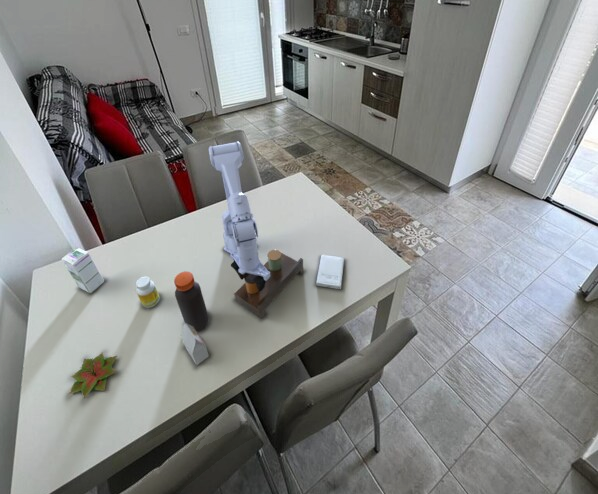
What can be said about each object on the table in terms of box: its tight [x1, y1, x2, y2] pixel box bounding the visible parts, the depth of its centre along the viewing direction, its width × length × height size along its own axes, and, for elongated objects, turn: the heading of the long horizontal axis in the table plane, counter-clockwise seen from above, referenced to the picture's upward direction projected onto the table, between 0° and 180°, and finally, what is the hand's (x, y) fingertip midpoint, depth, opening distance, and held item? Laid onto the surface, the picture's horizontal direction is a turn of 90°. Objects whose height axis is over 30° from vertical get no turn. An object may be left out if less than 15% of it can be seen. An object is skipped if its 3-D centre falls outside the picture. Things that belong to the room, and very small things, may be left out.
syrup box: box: [61, 246, 105, 294], centre depth 108 cm, size 6×6×14 cm
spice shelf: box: [233, 252, 304, 319], centre depth 109 cm, size 11×22×6 cm, turn 144°
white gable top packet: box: [180, 322, 210, 366], centre depth 90 cm, size 4×7×10 cm, turn 42°
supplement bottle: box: [135, 276, 160, 309], centre depth 104 cm, size 5×5×10 cm
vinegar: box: [173, 271, 210, 332], centre depth 94 cm, size 7×7×20 cm
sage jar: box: [267, 249, 282, 271], centre depth 111 cm, size 5×5×6 cm
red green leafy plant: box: [67, 351, 118, 400], centre depth 86 cm, size 12×12×5 cm
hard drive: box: [315, 254, 345, 290], centre depth 114 cm, size 2×8×12 cm
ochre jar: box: [243, 273, 259, 294], centre depth 104 cm, size 5×5×6 cm
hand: (252, 283), depth 104 cm, fingers open, 7 cm apart
